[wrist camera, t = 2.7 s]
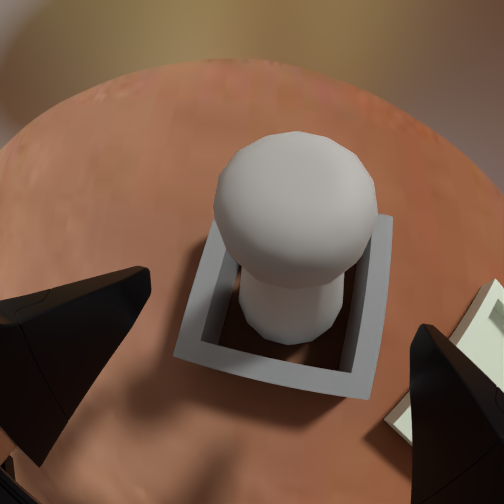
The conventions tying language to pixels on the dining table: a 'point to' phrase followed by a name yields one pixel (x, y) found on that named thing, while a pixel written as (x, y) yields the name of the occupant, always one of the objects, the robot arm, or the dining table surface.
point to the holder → (276, 371)
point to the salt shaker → (294, 230)
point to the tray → (469, 347)
